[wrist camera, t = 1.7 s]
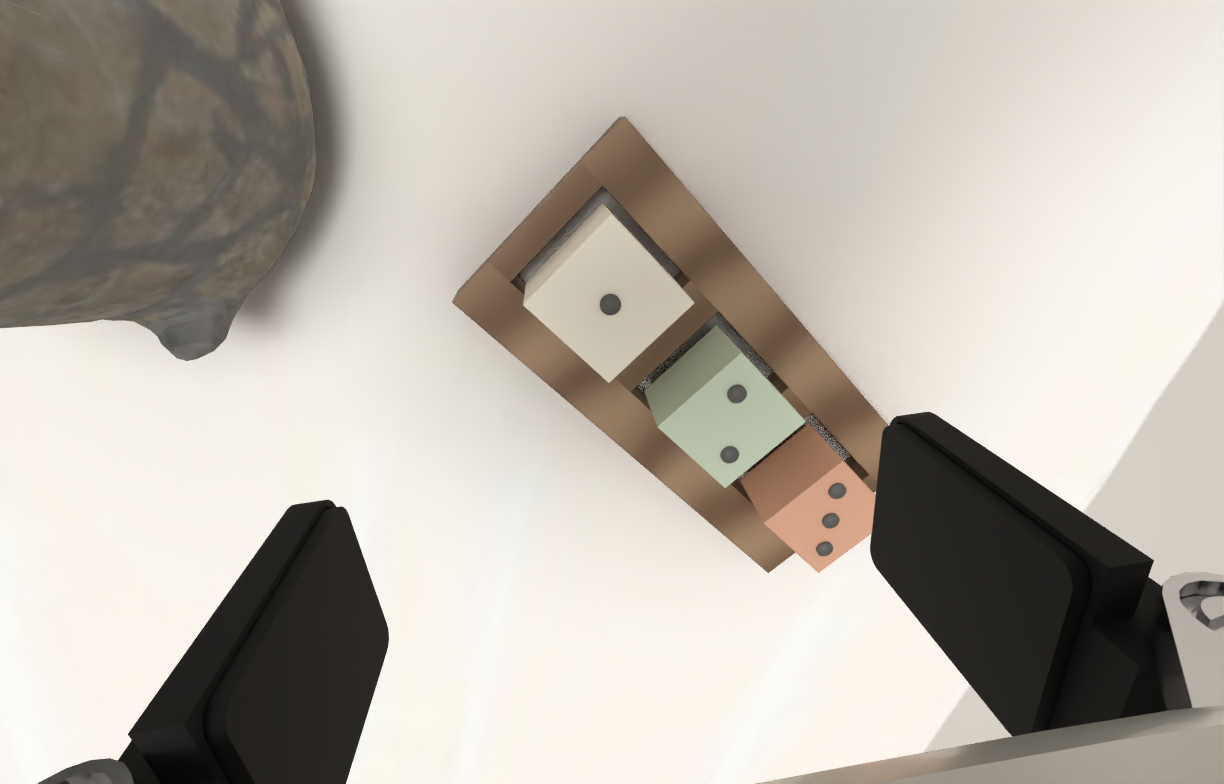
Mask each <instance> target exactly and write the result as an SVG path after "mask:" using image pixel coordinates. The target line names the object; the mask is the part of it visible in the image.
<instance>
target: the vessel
mask: <svg viewBox="0 0 1224 784" xmlns="http://www.w3.org/2000/svg"><path fill="white" fill-rule="evenodd" d="M315 170H316V148H315V132H314V121H313V111H312V102H311V95H310V88H309V81H308V74H307V70H306V68H305V65H304V63H303V61H302V58H301V56H300V54H299V51H298V47H297V44H296V41H295V39H294V37H293V35H292V33H291V30H290V28H289V26H288V24H287V18H286V16H285V13H284V10H283V8H282V5H281V3H280V0H0V328H10V327H27V326H45V325H58V324H69V323H80V322H91V321H97V320H101V319H104V320H112V321H115V320H127V321H134V322H136V323H138V324H140V325H142V326H144V327H146V328H148V329H150V330H151V331H152V332H153V333H154V334H155V335H157V336H158V338H159V340H160V342H161V344H162V345H163V346H164V347H165V348H166V349H168V350H169V351H170V352H171V353H172V354H173V355H174V356H175V357H176V358H178V359H182V360H186V361H189V360H194V359H198V358H200V357H202V356H204V355H206V354H208V353H210V352H212V351H214V350H215V349H216V348H217V347H218V346H219V345H220V344H221V343H222V342H223V341H224V340H225V339H226V337H227V334H228V331H229V328H230V326H231V323H232V320H233V318H234V317H235V315H236V313H237V311H238V310H239V308H240V306H241V304H242V303H243V301H244V299H245V297H246V296H247V294H248V293H249V292H250V290H251V289H252V288H253V287H254V286H255V285H256V284H257V283H258V282H259V280H260V279H261V278H262V277H263V276H264V275H265V274H266V273H267V272H268V271H269V270H270V269H271V267H272V266H273V265H274V264H275V262H276V261H277V260H278V258H279V257H280V255H281V254H282V252H283V250H284V249H285V247H286V246H287V244H288V242H289V241H290V239H291V238H292V236H293V234H294V233H295V231H296V230H297V228H298V226H299V223H300V221H301V218H302V216H303V213H304V210H305V208H306V205H307V202H308V200H309V197H310V194H311V192H312V189H313V187H314V181H315Z"/></svg>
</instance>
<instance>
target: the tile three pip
mask: <svg viewBox="0 0 1224 784" xmlns="http://www.w3.org/2000/svg"><path fill="white" fill-rule="evenodd" d="M740 481H741V483H742V485H743V487H744V489H745V490H746V492H747V494H748V496H749V498H750V499H751V501H752V503H753V505H754V507H755V508H756V510H757V512H758V514H759V516H760V517H761V519H762V521H763V523H764V524H765V525H766V526H767V527H768V528H770V529H771V530H772V531H773V532H774V533H775V534H776V535H777V536H778V537H779V538H781V539H782V540H783V541H784V542H785V543H786V544H787V545H788V546H789V547H790V548H792V549H793V550H794V551H795V552H796V553H797V554H798V555H799V556H800V557H802V558H803V559H804V560H805V561H806V562H807V563H808V564H809V565H810V566H811V567H813V568H814V569H815V570H816V571H817V572H818V573H819V572H820V571H822V570H823V569H824V568H826V567H827V566H828V565H830V564H831V563H832V562H834V561H835V560H836V559H838V558H839V557H840V556H842V555H843V554H844V553H846V552H847V551H848V550H850V549H851V548H853V547H854V546H855V545H857V544H858V543H859V542H861V541H862V540H863V539H865V538H866V537H867V536H869V535H870V534H871V533H872V525H873V516H874V506H875V497H876V495H875V494H874V493H873V492H872V491H871V490H870V488H869V487H868V486H867V485H866V484H865V483H864V482H863V481H862V480H861V479H860V477H859V476H858V475H857V474H856V473H855V472H854V471H853V470H852V469H851V468H850V467H849V466H848V465H847V463H846V462H845V461H844V460H843V459H842V458H841V457H840V456H839V455H838V454H837V453H836V452H835V451H834V450H833V449H832V447H831V446H830V445H829V444H828V443H827V442H826V441H825V440H824V439H823V438H822V437H821V436H820V435H819V434H818V432H817V431H816V430H815V429H814V428H813V427H812V426H811V425H810V424H807V425H806V426H805V427H804V428H802V429H801V430H800V431H799V432H798V433H796V434H795V435H794V436H793V437H791V438H790V439H789V440H788V441H787V442H785V443H784V444H783V445H782V446H781V447H779V448H778V449H777V450H776V451H774V452H773V453H772V454H771V455H770V456H768V457H767V458H766V459H765V460H763V461H762V462H761V463H760V464H759V465H757V466H756V467H755V468H754V469H752V470H751V471H750V472H749V473H748V474H746V475H745V476H744V477H743V478H742V479H740Z"/></svg>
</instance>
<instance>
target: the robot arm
mask: <svg viewBox="0 0 1224 784" xmlns="http://www.w3.org/2000/svg"><path fill="white" fill-rule="evenodd" d="M870 552H871V557H872V560H873V562H874V565H875V566H876V568H877V569H878V571H879V572H880V573H881V574H882V576H883V577H884V578H885V579H886V581H887V582H888V583H889V584H890V586H891V587H892V588H893V589H894V591H895V592H896V593H897V594H898V596H899V597H900V598H901V599H902V601H903V602H904V603H905V604H906V606H907V607H908V608H909V609H910V610H911V612H912V613H913V614H914V615H915V617H916V618H917V619H918V620H919V622H920V623H921V624H922V625H923V627H924V628H925V629H926V630H927V632H928V633H929V634H930V635H931V637H932V638H933V639H934V640H935V642H936V643H937V644H938V645H939V647H940V648H941V649H942V650H943V651H944V653H945V654H946V655H947V656H948V658H949V659H950V660H951V661H952V663H953V664H954V665H955V666H956V668H957V669H958V670H959V671H960V673H961V674H962V675H963V676H964V678H965V679H966V680H967V681H968V683H969V684H970V685H971V686H972V688H973V689H974V690H975V691H976V692H977V694H978V695H979V696H980V697H981V699H982V700H983V701H984V702H985V704H986V705H987V706H988V707H989V709H990V710H991V711H992V712H993V714H994V715H995V716H996V717H997V718H998V720H999V721H1000V722H1001V723H1002V724H1003V726H1004V727H1005V729H1006V730H1007V731H1008V732H1009V733H1010V734H1011V735H1012V736H1013V737H1008V738H1003V739H997V740H991V741H986V742H980V743H975V744H969V745H964V746H959V747H953V748H947V749H942V750H937V751H931V752H925V753H920V754H914V755H909V756H903V757H898V758H892V759H887V760H881V761H876V762H870V763H865V764H859V765H854V766H848V767H843V768H838V769H832V770H827V771H821V772H816V773H811V774H805V775H800V776H795V777H789V778H784V779H779V780H773V781H768V782H763V783H757V784H1224V575H1218V574H1212V573H1205V572H1203V573H1202V572H1194V573H1193V572H1191V573H1190V572H1188V573H1187V572H1186V573H1182V574H1178V575H1174V576H1171V577H1170V578H1169V579H1168V580H1167V581H1165V582H1164V583H1163V585H1162V586H1160V585H1159V584H1158V583H1156V582H1155V581H1153V580H1152V579H1150V578H1149V577H1148V575H1149V573H1150V570H1151V567H1152V564H1153V561H1154V560H1152V559H1151V558H1150V557H1148V556H1147V555H1145V554H1144V553H1142V552H1141V551H1139V550H1138V549H1136V548H1135V547H1133V546H1131V545H1130V544H1129V543H1127V542H1126V541H1124V540H1123V539H1121V538H1120V537H1118V536H1117V535H1115V534H1114V533H1112V532H1111V531H1109V530H1107V529H1106V528H1105V527H1103V526H1102V525H1100V524H1099V523H1097V522H1096V521H1094V520H1093V519H1091V518H1090V517H1088V516H1087V515H1085V514H1084V513H1082V512H1081V511H1079V510H1078V509H1076V508H1075V507H1073V506H1072V505H1070V504H1069V503H1067V502H1066V501H1064V500H1063V499H1061V498H1060V497H1058V496H1057V495H1055V494H1054V493H1052V492H1051V491H1049V490H1048V489H1046V488H1045V487H1043V486H1042V485H1040V484H1039V483H1037V482H1036V481H1034V480H1033V479H1031V478H1030V477H1028V476H1027V475H1025V474H1024V473H1022V472H1021V471H1019V470H1018V469H1016V468H1015V467H1013V466H1012V465H1010V464H1009V463H1007V462H1006V461H1004V460H1003V459H1001V458H1000V457H998V456H997V455H995V454H994V453H992V452H991V451H989V450H988V449H986V448H985V447H983V446H982V445H980V444H979V443H977V442H976V441H974V440H973V439H971V438H970V437H968V436H967V435H965V434H964V433H962V432H961V431H959V430H958V429H956V428H955V427H953V426H952V425H950V424H949V423H947V422H946V421H944V420H943V419H941V418H940V417H938V416H937V415H935V414H933V413H931V412H923V413H916V414H909V415H903V416H896V417H895V418H894V419H893V420H892V422H891V423H890V426H887V427H885V428H884V430H883V433H882V440H881V449H880V459H879V468H878V478H877V487H876V497H875V506H874V516H873V525H872V535H871V544H870ZM388 642H389V633H388V627H387V623H386V620H385V618H384V615H383V612H382V609H381V606H380V603H379V600H378V598H377V595H376V592H375V589H374V586H373V583H372V580H371V577H370V575H369V572H368V569H367V566H366V563H365V560H364V557H363V555H362V552H361V549H360V546H359V543H358V540H357V537H356V535H355V532H354V529H353V526H352V523H351V520H350V517H349V514H348V512H347V510H346V509H345V508H344V507H342V506H341V507H336V506H335V504H334V503H333V502H332V501H330V500H323V501H316V502H309V503H302V504H295V505H292V506H290V507H289V508H288V509H287V511H286V512H285V514H284V515H283V516H282V518H281V519H280V521H279V522H278V523H277V525H276V526H275V528H274V529H273V530H272V532H271V533H270V535H269V536H268V538H267V539H266V540H265V542H264V543H263V545H262V546H261V547H260V549H259V550H258V552H257V553H256V554H255V556H254V557H253V559H252V560H251V561H250V563H249V564H248V566H247V567H246V569H245V570H244V571H243V573H242V574H241V576H240V577H239V578H238V580H237V581H236V583H235V584H234V585H233V587H232V588H231V590H230V591H229V592H228V594H227V595H226V597H225V598H224V600H223V601H222V602H221V604H220V605H219V607H218V608H217V609H216V611H215V612H214V614H213V615H212V616H211V618H210V619H209V621H208V622H207V623H206V625H205V626H204V628H203V629H202V630H201V632H200V633H199V635H198V636H197V638H196V639H195V640H194V642H193V643H192V645H191V646H190V647H189V649H188V650H187V652H186V653H185V654H184V656H183V657H182V659H181V660H180V661H179V663H178V664H177V666H176V667H175V669H174V670H173V671H172V673H171V674H170V676H169V677H168V678H167V680H166V681H165V683H164V684H163V685H162V687H161V688H160V690H159V691H158V692H157V694H156V695H155V697H154V698H153V700H152V701H151V702H150V704H149V705H148V707H147V708H146V709H145V711H144V712H143V714H142V715H141V716H140V718H139V719H138V721H137V722H136V723H135V725H134V726H133V728H132V729H131V730H130V732H129V733H128V735H129V736H130V738H131V739H132V741H131V742H130V744H129V745H128V747H127V748H126V750H125V751H124V753H123V754H122V755H121V757H120V758H119V760H118V761H117V760H113V759H110V758H109V759H99V760H90V761H87V762H84V763H81V764H78V765H75V766H72V767H69V768H66V769H64V770H62V771H60V772H58V773H57V774H55V775H53V776H51V777H49V778H47V779H45V780H43V781H41V782H39V783H38V784H346V781H347V778H348V775H349V772H350V769H351V765H352V762H353V759H354V756H355V752H356V749H357V746H358V743H359V739H360V736H361V733H362V730H363V727H364V723H365V720H366V717H367V714H368V710H369V707H370V704H371V701H372V697H373V694H374V691H375V688H376V685H377V681H378V678H379V675H380V672H381V668H382V665H383V662H384V659H385V655H386V652H387V648H388Z"/></svg>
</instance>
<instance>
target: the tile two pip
mask: <svg viewBox="0 0 1224 784" xmlns="http://www.w3.org/2000/svg"><path fill="white" fill-rule="evenodd" d="M644 392H645V395H646V398H647V400H648V403H649V406H650V408H651V411H652V414H653V416H654V419H655V422H656V424H657V427H658V428H659V429H660V430H661V431H662V432H664V433H665V434H666V435H667V436H668V437H669V438H670V439H671V440H672V441H673V442H675V443H676V444H677V445H678V446H679V447H680V448H681V449H682V450H683V451H685V452H686V453H687V454H688V455H689V456H690V457H691V458H692V459H693V460H694V461H696V462H697V463H698V464H699V465H700V466H701V467H702V468H703V469H704V470H705V471H707V472H708V473H709V474H710V475H711V476H712V477H713V478H714V479H715V480H717V481H718V482H719V483H720V484H721V485H722V486H723V487H724V488H726V487H727V486H728V485H730V484H731V483H732V482H733V481H735V480H736V479H737V478H738V477H739V476H741V475H742V474H743V473H744V472H746V471H747V470H748V469H749V468H750V467H752V466H753V465H754V464H755V463H756V462H758V461H759V460H760V459H761V458H763V457H764V456H765V455H766V454H767V453H769V452H770V451H771V450H772V449H773V448H775V447H776V446H777V445H778V444H780V443H781V442H782V441H783V440H784V439H786V438H787V437H788V436H789V435H790V434H792V433H793V432H794V431H795V430H797V429H798V428H799V427H800V426H801V425H803V424H804V423H805V422H806V421H805V420H804V419H803V418H802V417H801V415H800V414H799V413H798V412H797V411H796V410H795V409H794V408H793V407H792V405H791V404H790V403H789V402H788V401H787V400H786V399H785V398H784V397H783V395H782V394H781V393H780V392H779V391H778V390H777V389H776V388H775V387H774V385H773V384H772V383H771V382H770V381H769V380H768V379H767V378H766V377H765V376H764V375H763V374H762V373H761V372H760V370H759V369H758V368H757V367H756V366H755V365H754V364H753V363H752V362H751V361H750V360H749V359H748V358H747V357H746V356H745V354H744V353H743V352H742V351H741V350H740V349H739V348H738V347H737V346H736V345H735V344H734V343H733V342H732V341H731V339H730V338H729V337H728V336H727V335H726V334H725V333H724V332H723V331H722V330H721V329H720V328H719V327H718V326H717V325H716V326H715V327H714V328H712V329H711V330H710V331H709V332H708V333H707V334H706V335H705V336H704V337H703V338H701V339H700V340H699V341H698V342H697V343H696V344H695V345H694V346H693V347H692V348H690V349H689V350H688V351H687V352H686V353H685V354H684V355H683V356H682V357H681V358H680V359H678V360H677V361H676V362H675V363H674V364H673V365H672V366H671V367H670V368H669V369H667V370H666V371H665V372H664V373H663V374H662V375H661V376H660V377H659V378H658V379H656V380H655V381H654V382H653V383H652V384H651V385H650V386H649V387H648V388H647V389H646V390H644Z"/></svg>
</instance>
